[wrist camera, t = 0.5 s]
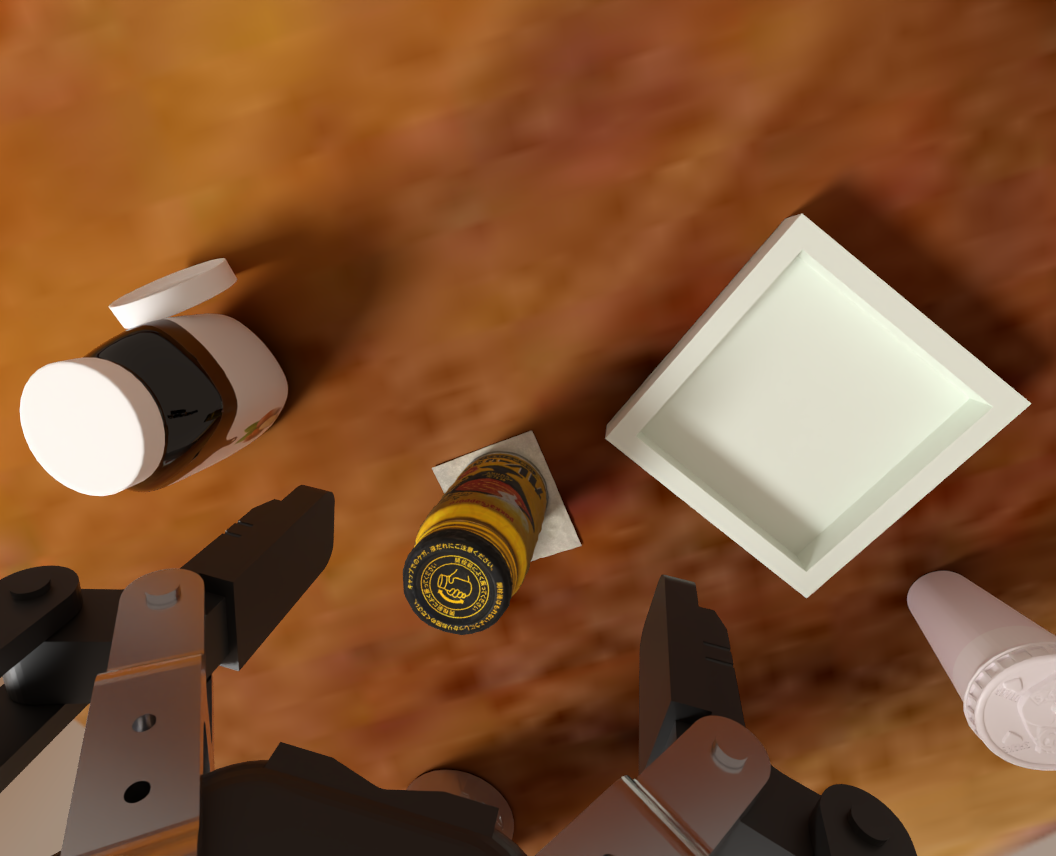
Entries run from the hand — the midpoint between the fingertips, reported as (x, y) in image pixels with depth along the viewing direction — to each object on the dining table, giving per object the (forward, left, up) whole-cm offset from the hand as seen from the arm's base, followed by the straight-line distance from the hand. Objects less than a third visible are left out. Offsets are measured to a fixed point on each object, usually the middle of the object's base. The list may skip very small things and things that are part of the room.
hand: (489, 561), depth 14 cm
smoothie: (+4, -26, -23) cm, 35 cm away
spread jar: (-13, +19, -23) cm, 32 cm away
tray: (+7, -11, -22) cm, 26 cm away
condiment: (-9, -2, -23) cm, 25 cm away
